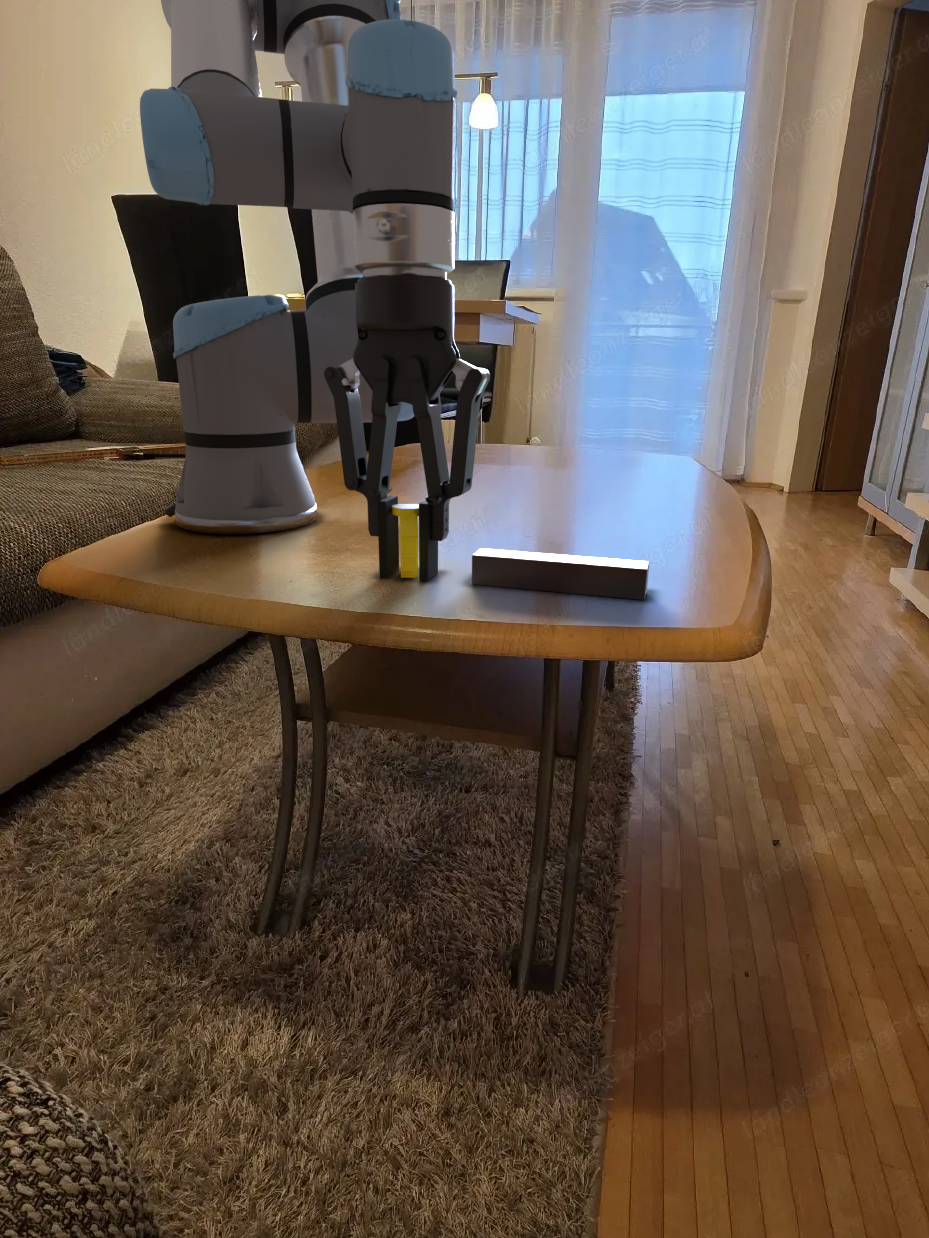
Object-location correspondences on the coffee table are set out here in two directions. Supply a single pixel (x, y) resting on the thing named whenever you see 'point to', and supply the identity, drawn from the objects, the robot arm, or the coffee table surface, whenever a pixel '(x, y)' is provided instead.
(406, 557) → the yellow capped peg
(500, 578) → the walnut stick
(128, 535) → the coffee table surface
